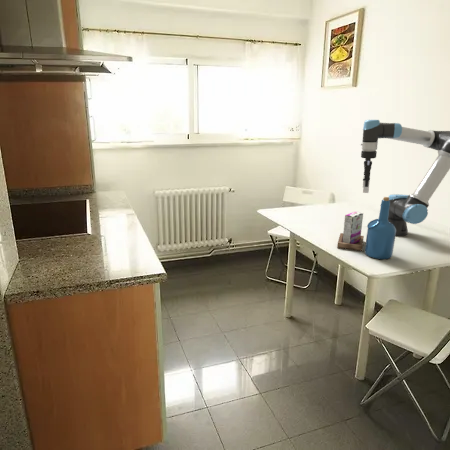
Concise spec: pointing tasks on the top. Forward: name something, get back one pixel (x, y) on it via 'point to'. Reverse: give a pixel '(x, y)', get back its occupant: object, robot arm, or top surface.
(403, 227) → the robot arm
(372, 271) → the top surface
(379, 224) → the wine bottle
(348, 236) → the candy bar box
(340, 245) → the tray
